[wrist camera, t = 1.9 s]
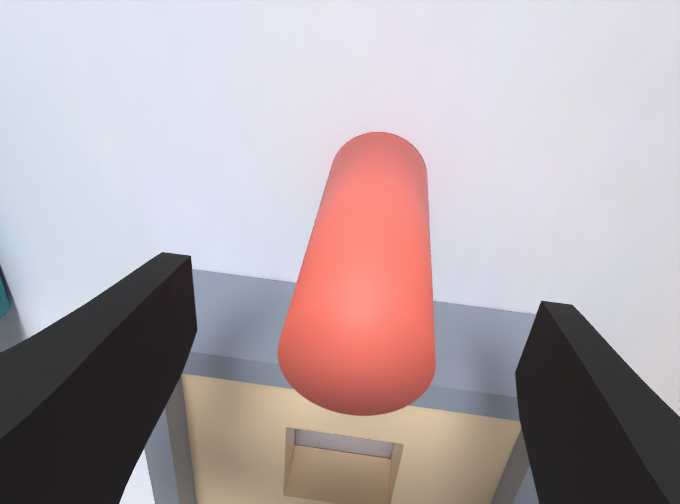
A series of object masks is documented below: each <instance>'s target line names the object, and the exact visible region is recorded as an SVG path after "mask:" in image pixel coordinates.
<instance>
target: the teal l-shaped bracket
mask: <svg viewBox="0 0 680 504" xmlns="http://www.w3.org/2000/svg"><path fill="white" fill-rule="evenodd" d="M9 310H10V306H9V302H8V299H7V296H6V293H5V289H4V286H3V283H2V280H1V276H0V318H1V317H2V316H3V315H4V314H5V313H6V312H7V311H9Z"/></svg>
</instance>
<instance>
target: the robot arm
mask: <svg viewBox="0 0 680 504" xmlns="http://www.w3.org/2000/svg"><path fill="white" fill-rule="evenodd" d="M197 330H198V329H197V318H196V307H195V296H194V285H193V274H192V263H191V256H188V255H180V254H172V253H164V252H162V253H160V254H159V255H157V256H156V257H154V258H152V259H151V260H149V261H148V262H146V263H145V264H144V265H142V266H141V267H139V268H138V269H136V270H135V271H133V272H132V273H130V274H129V275H128V276H126V277H125V278H123V279H122V280H120V281H119V282H117V283H116V284H114V285H113V286H111V287H110V288H108V289H107V290H105V291H104V292H102V293H101V294H99V295H98V296H97V297H95V298H94V299H92V300H91V301H89V302H88V303H86V304H84V305H83V306H81V307H80V308H78V309H76V310H75V311H73V312H71V313H70V314H68V315H67V316H65V317H63V318H62V319H60V320H58V321H57V322H55V323H53V324H52V325H50V326H48V327H47V328H45V329H43V330H42V331H40V332H39V333H37V334H35V335H33V336H31V337H30V338H28V339H26V340H24V341H22V342H21V343H19V344H17V345H15V346H13V347H11V348H9V349H7V350H5V351H3V352H1V353H0V504H119V502H120V500H121V497H122V495H123V492H124V490H125V487H126V485H127V483H128V480H129V478H130V476H131V474H132V472H133V470H134V467H135V465H136V463H137V461H138V459H139V457H140V455H141V453H142V451H143V449H144V448H145V446H146V444H147V442H148V440H149V438H150V436H151V434H152V432H153V430H154V428H155V426H156V424H157V422H158V420H159V418H160V416H161V414H162V412H163V410H164V409H165V407H166V405H167V403H168V401H169V399H170V397H171V395H172V393H173V391H174V389H175V387H176V385H177V383H178V381H179V379H180V377H181V375H182V373H183V370H184V367H185V365H186V362H187V359H188V357H189V354H190V351H191V348H192V345H193V342H194V339H195V336H196V333H197ZM515 380H516V391H517V402H518V411H519V419H520V424H521V428H522V433H523V437H524V441H525V446H526V450H527V454H528V458H529V463H530V467H531V471H532V475H533V479H534V484H535V488H536V492H537V496H538V500H539V504H680V417H679V416H678V415H677V414H676V413H675V412H674V411H673V410H672V409H671V408H670V407H669V406H668V405H667V404H666V403H665V402H664V401H663V400H662V399H661V398H660V397H659V396H658V395H657V394H656V393H655V392H654V391H653V390H652V389H651V388H650V387H649V386H648V385H647V384H646V383H645V382H644V381H643V380H642V379H641V378H640V377H639V376H638V375H637V374H636V373H635V372H634V371H633V370H632V369H631V368H630V367H629V365H628V364H627V363H626V362H625V361H624V360H623V359H622V358H621V357H620V356H619V355H618V354H617V353H616V351H615V350H614V349H613V348H612V347H611V346H610V345H609V344H608V343H607V342H606V340H605V339H604V338H603V337H602V336H601V335H600V334H599V333H598V332H597V331H596V329H595V328H594V327H593V326H592V325H591V324H590V323H589V322H588V321H587V320H586V319H585V317H584V316H583V315H582V314H581V313H580V312H579V311H578V310H577V309H576V308H575V307H574V306H573V305H570V304H562V303H554V302H546V301H541V303H540V306H539V309H538V311H537V314H536V317H535V320H534V322H533V325H532V328H531V330H530V333H529V336H528V339H527V341H526V344H525V347H524V349H523V352H522V355H521V357H520V360H519V363H518V366H517V368H516V371H515Z"/></svg>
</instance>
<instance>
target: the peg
mask: <svg viewBox="0 0 680 504" xmlns="http://www.w3.org/2000/svg"><path fill="white" fill-rule="evenodd" d="M277 353H278V362H279V366H280V369H281V371H282V373H283V375H284V377H285V378H286V380H287V381H288V383H289V384H290V385H291V386H292V387H293V388H294V389H295V390H296V391H297V392H298V393H299V394H300V395H301V396H303V397H304V398H305V399H307V400H309V401H310V402H312V403H314V404H316V405H318V406H320V407H322V408H325V409H327V410H330V411H333V412H337V413H341V414H347V415H355V416H373V415H381V414H387V413H390V412H394V411H397V410H399V409H402V408H404V407H406V406H408V405H410V404H411V403H413V402H414V401H416V400H417V399H418V398H419V397H421V396H422V395H423V394H424V392H425V391H426V390H427V389H428V387H429V386H430V384H431V382H432V380H433V377H434V374H435V368H436V356H435V335H434V313H433V292H432V271H431V250H430V229H429V207H428V186H427V170H426V166H425V163H424V160H423V158H422V156H421V155H420V153H419V152H418V150H417V149H416V148H415V147H414V146H413V145H412V144H411V143H409V142H408V141H407V140H405V139H403V138H401V137H399V136H397V135H394V134H390V133H385V132H371V133H366V134H363V135H360V136H357V137H355V138H353V139H351V140H350V141H348V142H347V143H346V144H345V145H344V146H343V147H342V148H341V149H340V150H339V151H338V153H337V154H336V156H335V158H334V160H333V163H332V166H331V170H330V173H329V176H328V180H327V183H326V187H325V190H324V193H323V197H322V200H321V203H320V207H319V210H318V213H317V217H316V220H315V223H314V227H313V230H312V233H311V237H310V240H309V243H308V247H307V250H306V253H305V257H304V260H303V263H302V267H301V270H300V273H299V277H298V280H297V283H296V287H295V290H294V293H293V297H292V300H291V303H290V307H289V310H288V313H287V317H286V320H285V323H284V327H283V330H282V333H281V337H280V340H279V343H278V351H277Z"/></svg>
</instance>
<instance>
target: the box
mask: <svg viewBox="0 0 680 504" xmlns="http://www.w3.org/2000/svg"><path fill="white" fill-rule="evenodd" d="M192 274H193V285H194V296H195V307H196V318H197V329H198V330H197V333H196V336H195V339H194V342H193V345H192V348H191V351H190V354H189V357H188V359H187V362H186V365H185V367H184V370H183V373H182V375H181V377H180V379H179V381H178V383H177V385H176V387H175V389H174V391H173V393H172V395H171V397H170V399H169V401H168V403H167V405H166V407H165V409H164V410H163V412H162V414H161V416H160V418H159V420H158V422H157V424H156V426H155V428H154V430H153V432H152V434H151V436H150V438H149V440H148V442H147V444H146V446H145V448H144V449H145V454H146V459H147V464H148V469H149V475H150V480H151V485H152V490H153V495H154V500H155V504H539V500H538V496H537V492H536V488H535V484H534V479H533V475H532V471H531V467H530V463H529V458H528V454H527V450H526V446H525V441H524V437H523V433H522V428H521V424H520V419H519V411H518V402H517V391H516V380H515V371H516V368H517V366H518V363H519V360H520V357H521V355H522V352H523V349H524V347H525V344H526V341H527V339H528V336H529V333H530V330H531V328H532V325H533V322H534V320H535V317H536V315H534V314H526V313H519V312H511V311H504V310H496V309H488V308H481V307H473V306H466V305H458V304H450V303H443V302H435V301H433V313H434V335H435V356H436V368H435V374H434V377H433V380H432V382H431V384H430V386H429V387H428V389H427V390H426V391H425V392H424V394H423V395H422V396H421V397H419V398H418V399H417V400H416V401H414V402H413V403H411V404H410V405H408V406H406V407H404V408H402V409H399V410H397V411H394V412H390V413H387V414H381V415H373V416H355V415H347V414H341V413H337V412H333V411H330V410H327V409H325V408H322V407H320V406H318V405H316V404H314V403H312V402H310V401H309V400H307V399H305V398H304V397H303V396H301V395H300V394H299V393H298V392H297V391H296V390H295V389H294V388H293V387H292V386H291V385H290V384H289V383H288V381H287V380H286V378H285V377H284V375H283V373H282V371H281V369H280V366H279V362H278V353H277V351H278V343H279V340H280V337H281V333H282V330H283V327H284V323H285V320H286V317H287V313H288V310H289V307H290V303H291V300H292V297H293V293H294V290H295V287H296V283H291V282H284V281H276V280H269V279H261V278H253V277H246V276H238V275H231V274H223V273H216V272H208V271H200V270H193V269H192ZM295 429H302V430H309V431H316V432H323V433H330V434H337V435H344V436H350V437H357V438H364V439H371V440H378V441H385V442H392V443H394V447H393V451H392V456H391V459H387V458H381V457H374V456H367V455H360V454H353V453H347V452H340V451H333V450H326V449H319V448H312V447H306V446H299V445H294V443H295Z"/></svg>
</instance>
